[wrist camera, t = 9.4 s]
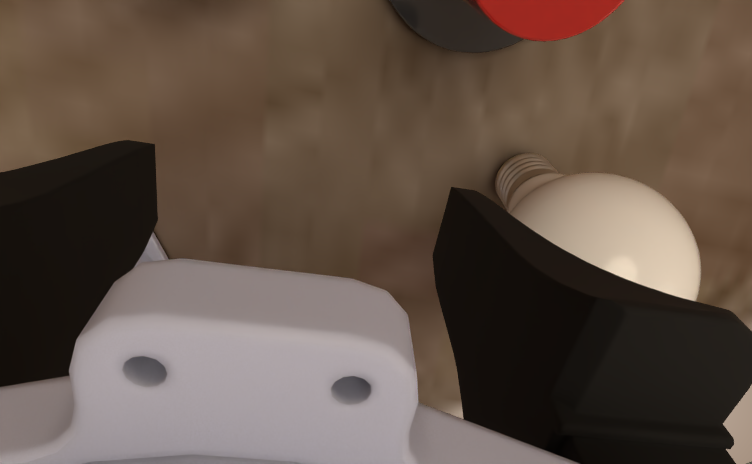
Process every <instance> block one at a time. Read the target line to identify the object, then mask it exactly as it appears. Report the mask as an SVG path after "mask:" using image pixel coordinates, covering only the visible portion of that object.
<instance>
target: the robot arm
mask: <svg viewBox="0 0 752 464" xmlns="http://www.w3.org/2000/svg"><path fill="white" fill-rule="evenodd" d="M157 220H158V216H157V190H156V163H155V144H150V143H143V142H136V141H130V140H125V141H118V142H113V143H109V144H105V145H102V146H98V147H95V148H92V149H88V150H85V151H81V152H78V153H75V154H71V155H68V156H65V157H61V158H58V159H54V160H50V161H46V162H42V163H39V164H35V165H31V166H27V167H23V168H19V169H15V170H11V171H6V172H1V173H0V464H736V463H735V462H734V460H733V459H732V458H731V456H730V455H729V453H728V452H727V451H726V449H731V447H732V446H733V445H734V439H733V437H732V436H731V435H730V433H729V432H728V431H727V429H726V428H725V427H724V426H723V422H724V421H725V420H726V418H727V417H728V416H729V414H730V413H731V412H732V410H733V409H734V407H735V406H736V405H737V404H738V402H739V401H740V400H741V398H742V397H743V396H744V395H745V393H746V392H747V391H748V389H749V388H750V386H751V384H752V331H751V330H750V329H749V328H748V327H747V326H746V325H745V324H744V323H743V322H742V321H741V320H740V319H739V318H738V317H737V316H736V315H735V314H734V313H733V312H731V311H729V310H726V309H722V308H719V307H715V306H711V305H707V304H703V303H700V302H696V301H692V300H688V299H684V298H681V297H677V296H674V295H670V294H667V293H664V292H661V291H658V290H655V289H652V288H649V287H646V286H643V285H641V284H638V283H635V282H633V281H630V280H627V279H625V278H622V277H620V276H618V275H615V274H613V273H611V272H608V271H606V270H603V269H601V268H599V267H597V266H595V265H592V264H590V263H588V262H586V261H584V260H582V259H580V258H579V257H577V256H575V255H573V254H571V253H569V252H567V251H565V250H564V249H562V248H560V247H558V246H557V245H555V244H553V243H552V242H550V241H549V240H547V239H546V238H544V237H542V236H541V235H539V234H538V233H536V232H535V231H533V230H532V229H530V228H529V227H527V226H526V225H525V224H523V223H522V222H520V221H519V220H518V219H516V218H515V217H513V216H512V215H511V214H509V213H508V212H507V211H505V210H504V209H503V208H501V207H500V206H498V205H497V204H496V203H494V202H493V201H492V200H490V199H489V198H487V197H486V196H484V195H483V194H481V193H479V192H477V191H475V190H468V189H461V188H454V187H451V190H450V194H449V198H448V201H447V205H446V208H445V212H444V216H443V219H442V223H441V227H440V230H439V234H438V238H437V241H436V245H435V248H434V252H433V264H434V275H435V284H436V289H437V293H438V297H439V301H440V305H441V308H442V312H443V316H444V319H445V323H446V327H447V330H448V334H449V338H450V342H451V345H452V349H453V353H454V357H455V362H456V366H457V372H458V379H459V386H460V393H461V400H462V409H463V417H464V419H461V418H458V417H456V416H453V415H451V414H448V413H445V412H443V411H440V410H437V409H435V408H432V407H429V406H427V405H424V404H422V403H419V402H418V387H417V372H416V366H415V359H414V352H413V346H412V339H411V332H410V326H409V319H408V314H407V313H406V312H405V311H404V310H403V308H402V307H401V306H400V305H399V304H398V303H397V302H396V300H395V299H394V298H393V297H392V296H391V295H390V294H389V292H388V291H386V290H384V289H381V288H378V287H375V286H372V285H369V284H366V283H364V282H361V281H358V280H355V279H352V278H344V277H336V276H328V275H319V274H311V273H302V272H294V271H285V270H277V269H269V268H260V267H252V266H243V265H235V264H227V263H218V262H210V261H201V260H193V259H185V258H180V259H170V260H169V259H168V257H167V255H166V253H165V252H164V250H163V248H162V246H161V245H160V243H159V241H158V239H157V237H156V236H155V234H154V232H153V230H154V228H155V225H156V223H157ZM747 464H752V462H749V463H747Z"/></svg>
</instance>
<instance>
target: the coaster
mask: <svg viewBox="0 0 752 464" xmlns="http://www.w3.org/2000/svg"><path fill="white" fill-rule="evenodd" d="M390 2H391V3H392V5H393V7H394V8H395V10H396V11H397V13H398V14H399V15H400V16H401V18H402V19H403V20H404V21H405V23H406V24H407V25H409V26H410V27H411V28H412V29H413V30H414V31H415V32H416V33H417V34H419V35H420V36H422V37H423V38H424V39H426V40H428V41H430V42H432V43H433V44H435V45H437V46H440V47H443V48H446V49H449V50H453V51H458V52H466V53H481V52H490V51H494V50H499V49H502V48H505V47H508V46H511V45H513V44H515V43H517V42H519V41H521V40H523V39H522V38H519V37H516V36H514V35H511V34H509V33H507V32H506V31H504V30H502V29H500V28H498V27H497V26H495V25H493V24H492V23H490V22H488V21H487V20H486V19H484V18H483V17H482V16H480V15H479V14H478V13H477V11H476V10H475V9H474V8H473V7H472V6H470V5H468V4H466V3H465V2H463V1H461V0H390Z"/></svg>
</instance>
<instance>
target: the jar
mask: <svg viewBox="0 0 752 464" xmlns="http://www.w3.org/2000/svg"><path fill="white" fill-rule="evenodd" d="M461 1H463V2H465V3H466V4H468V5H470V6H472V7H473V8H474V9H475V10H476V11H477V13H478V14H479V15H480V16H482V17H483V18H484V19H486V20H487V21H488V22H490V23H492V24H493V25H495V26H497V27H498V28H500V29H502V30H504V31H506V32H507V33H509V34H511V35H514V36H516V37H519V38H522V39H526V40H531V41H543V42H545V41H557V40H561V39H566V38H569V37H572V36H575V35H578V34H580V33H582V32H584V31H586V30H588V29H590V28H592V27H594V26H595V25H597V24H598V23H600V22H601V21H603V20H604V19H605V18H606V17H608V16H609V15H610V14H611V13H613V12H614V11H615V10H616V9H617V8H618V7H619V6H620V5H621V4H622V3H623V1H624V0H461Z"/></svg>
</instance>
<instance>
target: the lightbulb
mask: <svg viewBox="0 0 752 464" xmlns="http://www.w3.org/2000/svg"><path fill="white" fill-rule="evenodd" d="M495 188H496V192H497V194H498V196H499V198H500V200H501V201H502V203H503V204H504V206H505V208H506V209H507V212H508V213H509V214H511V215H512V216H513V217H515V218H516V219H518V220H519V221H520V222H522V223H523V224H525V225H526V226H527V227H529V228H530V229H532V230H533V231H535V232H536V233H538V234H539V235H541V236H542V237H544V238H546V239H547V240H549V241H550V242H552V243H553V244H555V245H557V246H558V247H560V248H562V249H564V250H565V251H567V252H569V253H571V254H573V255H575V256H577V257H579V258H580V259H582V260H584V261H586V262H588V263H590V264H592V265H595V266H597V267H599V268H601V269H603V270H606V271H608V272H611V273H613V274H615V275H618V276H620V277H622V278H625V279H627V280H630V281H633V282H635V283H638V284H641V285H643V286H646V287H649V288H652V289H655V290H658V291H661V292H664V293H667V294H670V295H674V296H677V297H681V298H684V299H688V300H692V301H696V300H697V297H698V293H699V288H700V282H701V260H700V254H699V250H698V246H697V243H696V240H695V238H694V235H693V233H692V231H691V229H690V227H689V225H688V224H687V222H686V220H685V219H684V217H683V216H682V215H681V213H680V212H679V211H678V210H677V208H676V207H675V206H674V205H673V204H672V203H671V202H670V201H669V200H667V199H666V198H665V197H664V196H663V195H661V194H660V193H659V192H657V191H656V190H654V189H652V188H651V187H649V186H647V185H645V184H643V183H641V182H639V181H637V180H634V179H631V178H628V177H625V176H621V175H617V174H611V173H603V172H585V173H576V174H571V175H564V174H560V173H559V172H558V171H557V170H556V169H555V168H554V167H553V165H552V164H551V163H550V162H549V161H548V160H547V159H546V158H545V157H543V156H541V155H539V154H535V153H523V154H519V155H516V156H514V157H512V158H511V159H509V160H508V161H507V162H505V163H504V164H503V166H502V167H501V168H500V170H499V171H498V173H497V176H496V180H495Z"/></svg>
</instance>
